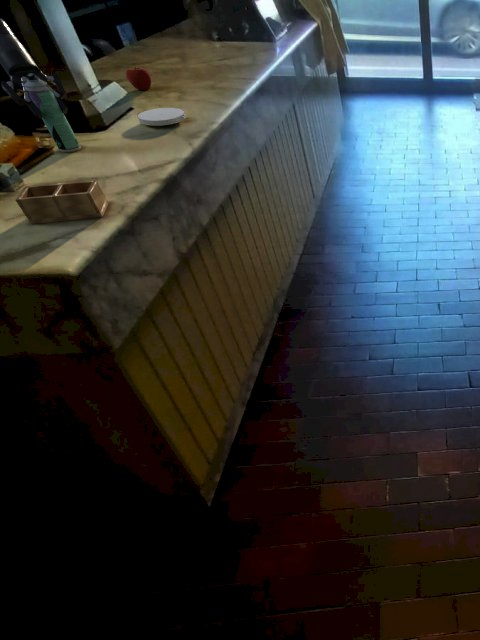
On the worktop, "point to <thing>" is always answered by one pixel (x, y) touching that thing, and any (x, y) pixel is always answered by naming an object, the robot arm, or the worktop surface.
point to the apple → (139, 78)
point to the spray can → (51, 114)
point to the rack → (62, 201)
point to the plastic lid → (161, 116)
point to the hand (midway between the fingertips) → (53, 113)
